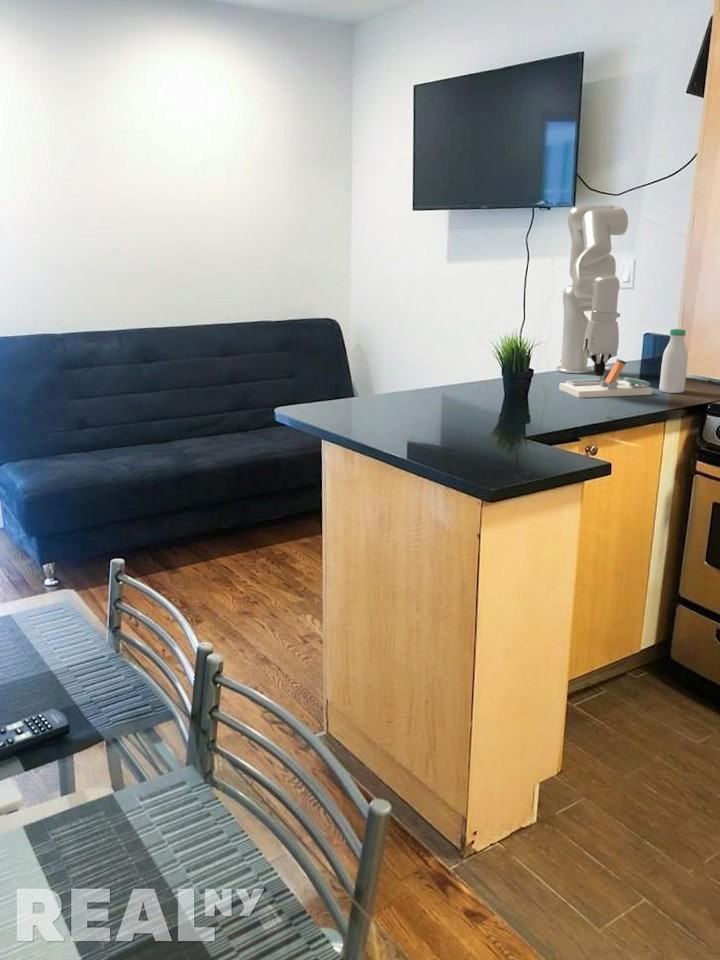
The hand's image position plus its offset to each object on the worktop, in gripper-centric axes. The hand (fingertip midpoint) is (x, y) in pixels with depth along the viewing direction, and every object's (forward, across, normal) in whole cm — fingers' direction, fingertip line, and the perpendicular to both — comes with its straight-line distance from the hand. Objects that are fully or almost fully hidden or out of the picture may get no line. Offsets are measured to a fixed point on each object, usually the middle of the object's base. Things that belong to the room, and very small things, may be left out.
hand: (598, 375), depth 260 cm
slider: (+4, -7, -8) cm, 11 cm away
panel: (+6, -4, -4) cm, 8 cm away
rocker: (+3, -13, +1) cm, 13 cm away
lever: (+3, -4, 0) cm, 5 cm away
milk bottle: (+6, -26, +1) cm, 26 cm away
